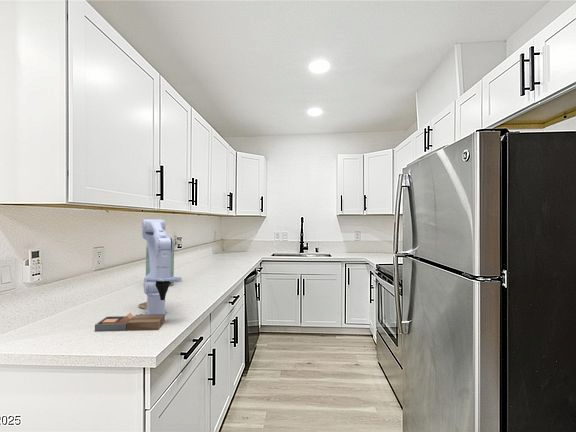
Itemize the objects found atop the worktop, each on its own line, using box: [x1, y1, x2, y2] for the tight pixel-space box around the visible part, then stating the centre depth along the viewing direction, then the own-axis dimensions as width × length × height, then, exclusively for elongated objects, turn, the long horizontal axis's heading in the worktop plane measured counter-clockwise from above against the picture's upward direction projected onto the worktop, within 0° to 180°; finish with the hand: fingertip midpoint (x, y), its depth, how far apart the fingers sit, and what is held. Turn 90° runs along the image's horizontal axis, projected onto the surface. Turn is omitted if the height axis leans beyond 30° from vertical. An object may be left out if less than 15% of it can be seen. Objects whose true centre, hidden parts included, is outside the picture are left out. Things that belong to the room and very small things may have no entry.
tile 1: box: [102, 319, 118, 324], centre depth 142 cm, size 4×4×2 cm
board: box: [126, 313, 166, 332], centre depth 144 cm, size 12×12×3 cm
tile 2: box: [118, 312, 134, 324], centre depth 143 cm, size 4×4×2 cm
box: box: [94, 315, 135, 332], centre depth 142 cm, size 12×11×2 cm
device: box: [145, 238, 175, 287], centre depth 235 cm, size 16×8×30 cm, turn 104°
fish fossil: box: [138, 301, 147, 310], centre depth 185 cm, size 26×10×1 cm, turn 6°
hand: (162, 299), depth 149 cm, fingers closed
